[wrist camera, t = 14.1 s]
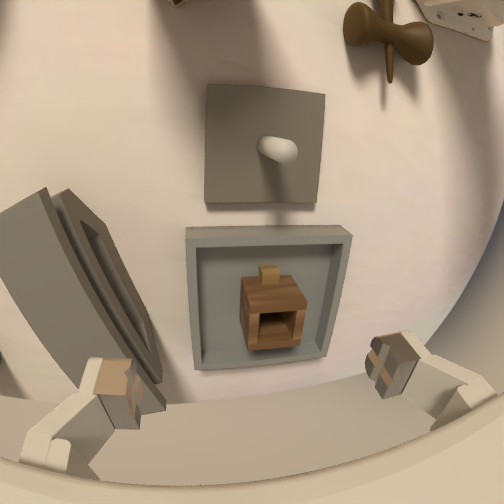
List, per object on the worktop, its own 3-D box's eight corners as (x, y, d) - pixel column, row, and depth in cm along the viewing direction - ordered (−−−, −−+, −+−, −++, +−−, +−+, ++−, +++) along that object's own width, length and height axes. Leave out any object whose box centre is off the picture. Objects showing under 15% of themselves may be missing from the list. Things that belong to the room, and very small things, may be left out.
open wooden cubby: (241, 265, 35) (251, 292, 29) (292, 263, 36) (309, 289, 31) (239, 319, 38) (247, 350, 32) (285, 315, 39) (299, 345, 34)
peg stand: (321, 94, 29) (357, 90, 22) (312, 200, 34) (343, 223, 27) (207, 85, 27) (212, 73, 20) (204, 199, 32) (208, 224, 25)
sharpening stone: (167, 346, 39) (166, 410, 29) (118, 359, 38) (107, 420, 29) (83, 167, 28) (37, 191, 18) (29, 195, 27) (-23, 228, 18)
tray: (340, 225, 36) (352, 235, 33) (318, 341, 43) (326, 356, 40) (185, 227, 33) (185, 238, 30) (193, 353, 40) (194, 370, 37)
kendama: (397, -32, 23) (407, 93, 30) (333, -54, 21) (339, 78, 29) (422, -46, 17) (438, 91, 25) (352, -74, 16) (366, 71, 24)
